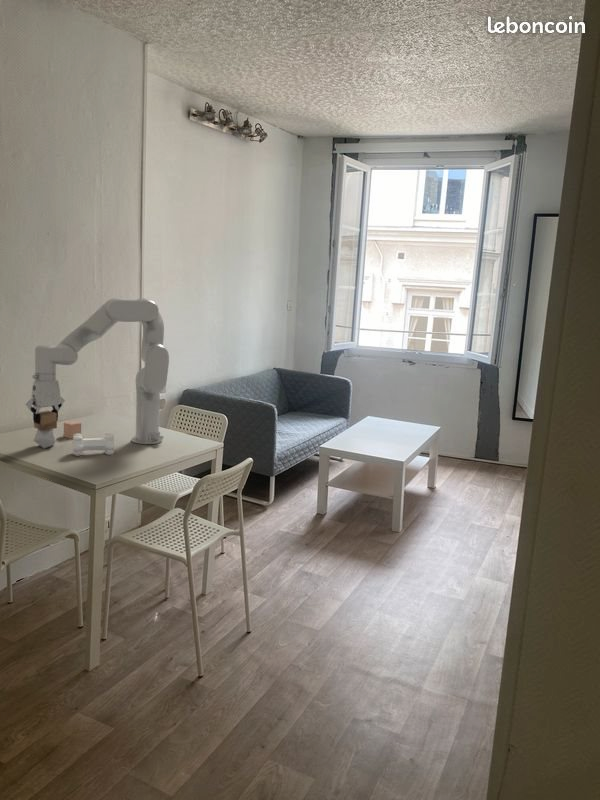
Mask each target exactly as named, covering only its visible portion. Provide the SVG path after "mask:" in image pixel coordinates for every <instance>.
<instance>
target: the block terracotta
mask: <svg viewBox="0 0 600 800" xmlns="http://www.w3.org/2000/svg"><path fill="white" fill-rule="evenodd" d="M74 434H81V435H82V423H81V422H79V421H76V420H71V421H64V422H63V437H65V438H68V439H73V435H74Z"/></svg>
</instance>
